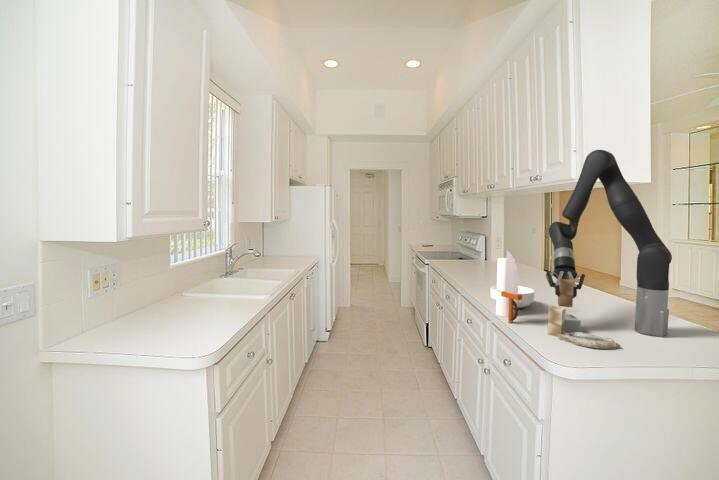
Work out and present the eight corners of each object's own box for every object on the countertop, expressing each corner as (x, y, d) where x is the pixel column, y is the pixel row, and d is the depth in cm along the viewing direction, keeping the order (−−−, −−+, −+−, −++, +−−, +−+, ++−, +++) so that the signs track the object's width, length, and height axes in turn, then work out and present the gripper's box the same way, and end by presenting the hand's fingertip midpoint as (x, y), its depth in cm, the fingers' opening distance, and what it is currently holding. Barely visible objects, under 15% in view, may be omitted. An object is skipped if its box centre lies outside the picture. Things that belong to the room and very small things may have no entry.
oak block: (564, 334, 132) (565, 308, 131) (560, 337, 129) (562, 310, 128) (551, 331, 135) (552, 306, 134) (547, 334, 132) (548, 308, 131)
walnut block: (570, 304, 139) (572, 279, 138) (572, 307, 135) (573, 281, 134) (557, 303, 140) (559, 278, 140) (558, 306, 136) (560, 280, 135)
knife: (500, 320, 149) (502, 250, 147) (504, 319, 150) (506, 249, 148) (516, 325, 142) (519, 252, 139) (521, 325, 143) (523, 251, 141)
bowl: (543, 310, 165) (544, 292, 164) (506, 313, 160) (507, 294, 159) (515, 299, 184) (516, 284, 183) (482, 302, 179) (482, 285, 178)
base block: (570, 326, 142) (571, 314, 141) (580, 333, 134) (580, 320, 133) (549, 325, 143) (550, 313, 142) (557, 332, 135) (558, 319, 134)
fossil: (556, 343, 125) (557, 335, 124) (561, 334, 132) (561, 326, 132) (619, 356, 114) (620, 348, 113) (620, 346, 121) (621, 337, 121)
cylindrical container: (514, 317, 154) (516, 260, 151) (497, 316, 155) (499, 260, 153) (511, 312, 160) (512, 258, 158) (494, 311, 162) (496, 257, 160)
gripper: (545, 254, 145) (546, 289, 136) (585, 256, 140) (589, 292, 130) (543, 265, 151) (544, 299, 141) (582, 267, 145) (586, 303, 135)
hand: (566, 296), depth 135 cm, fingers closed on walnut block, 4 cm apart
